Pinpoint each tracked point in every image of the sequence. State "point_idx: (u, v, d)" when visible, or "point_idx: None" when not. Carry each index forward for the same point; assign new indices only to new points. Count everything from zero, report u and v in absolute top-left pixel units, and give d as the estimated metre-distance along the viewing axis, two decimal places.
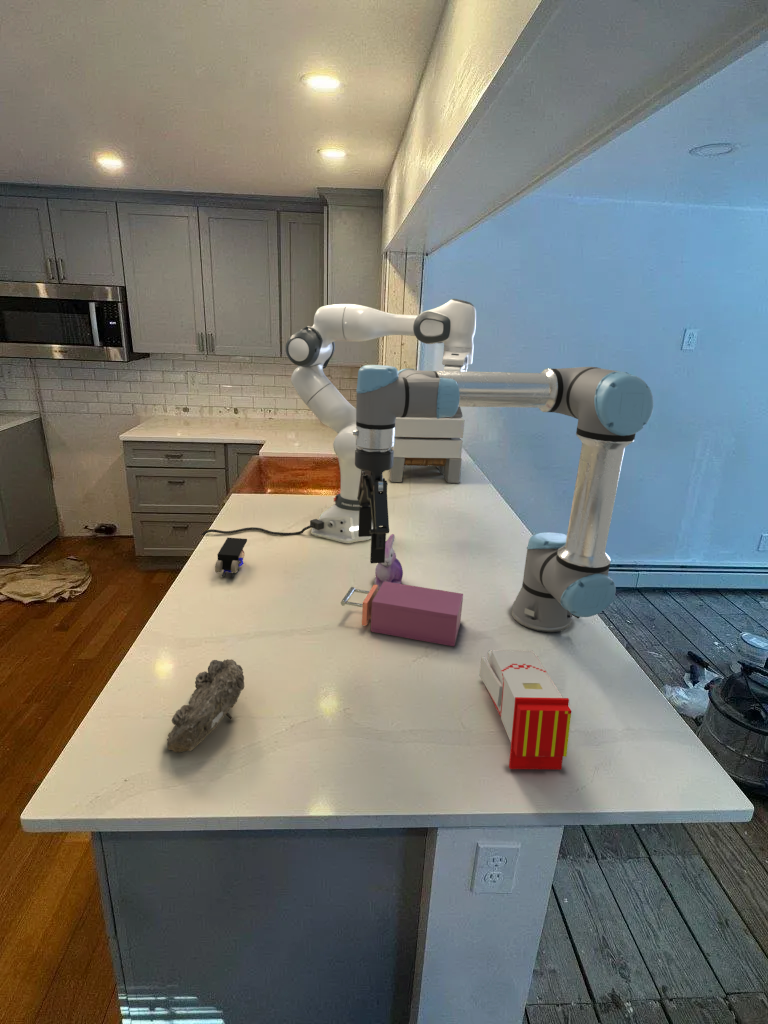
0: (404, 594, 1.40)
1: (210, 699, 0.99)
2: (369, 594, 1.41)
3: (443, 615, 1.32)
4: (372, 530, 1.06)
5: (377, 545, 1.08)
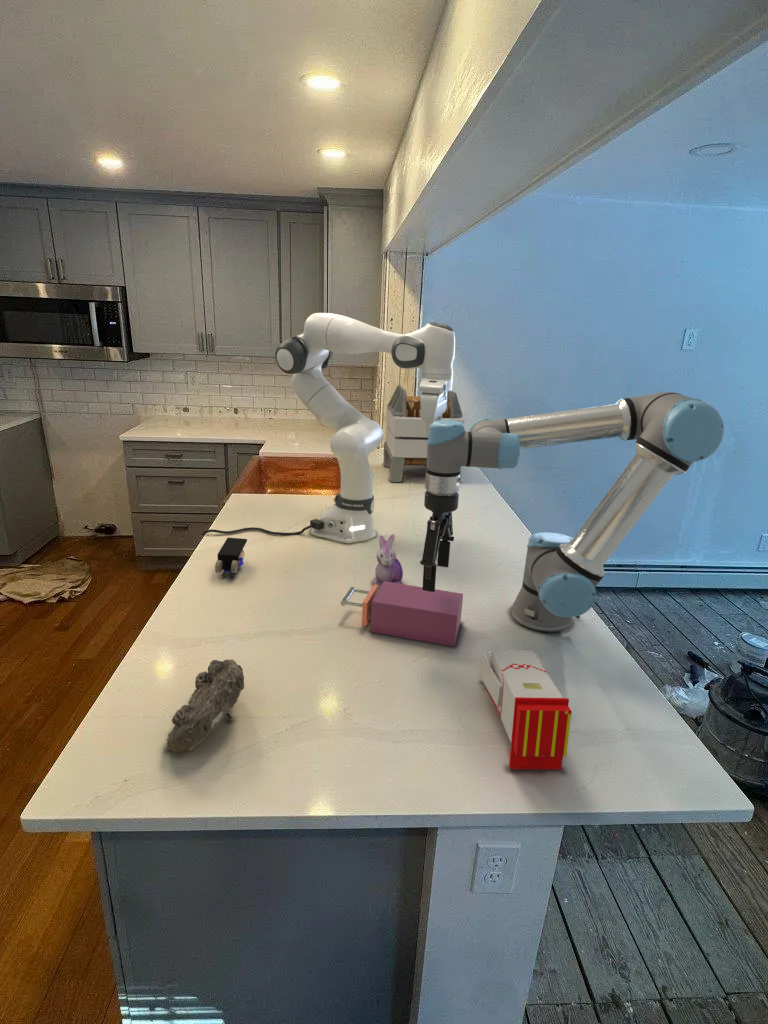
0: (404, 594, 1.40)
1: (210, 699, 0.99)
2: (369, 594, 1.41)
3: (443, 615, 1.32)
4: None
5: None
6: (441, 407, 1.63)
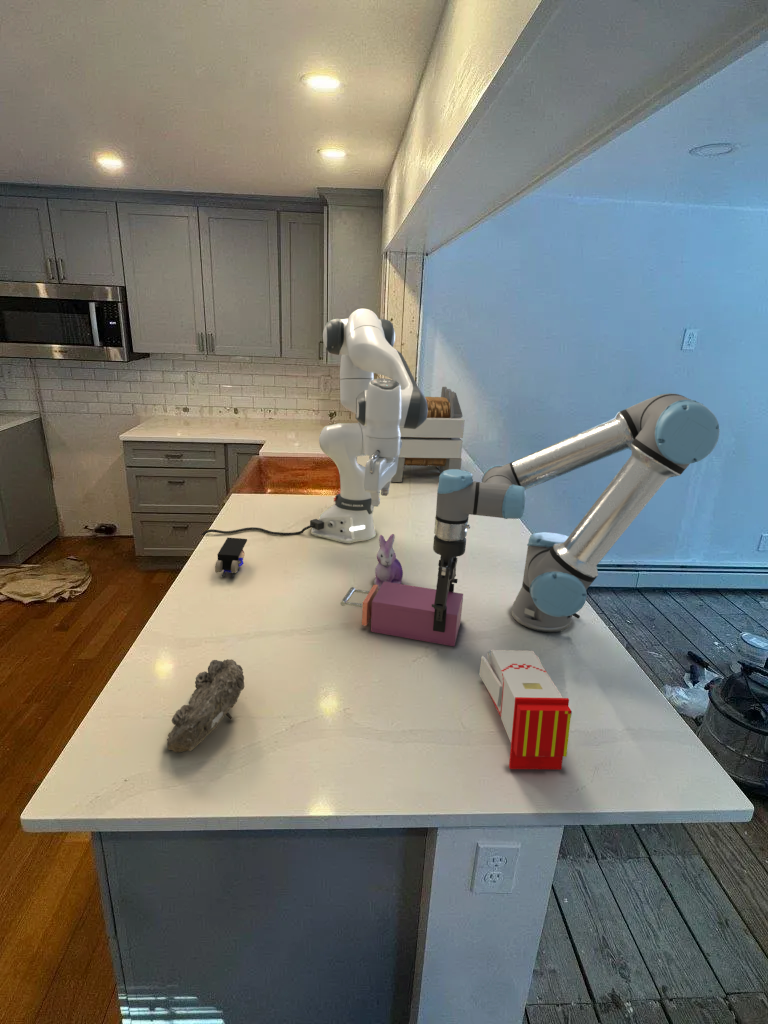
0: (404, 594, 1.40)
1: (210, 699, 0.99)
2: (369, 594, 1.41)
3: None
4: None
5: None
6: None
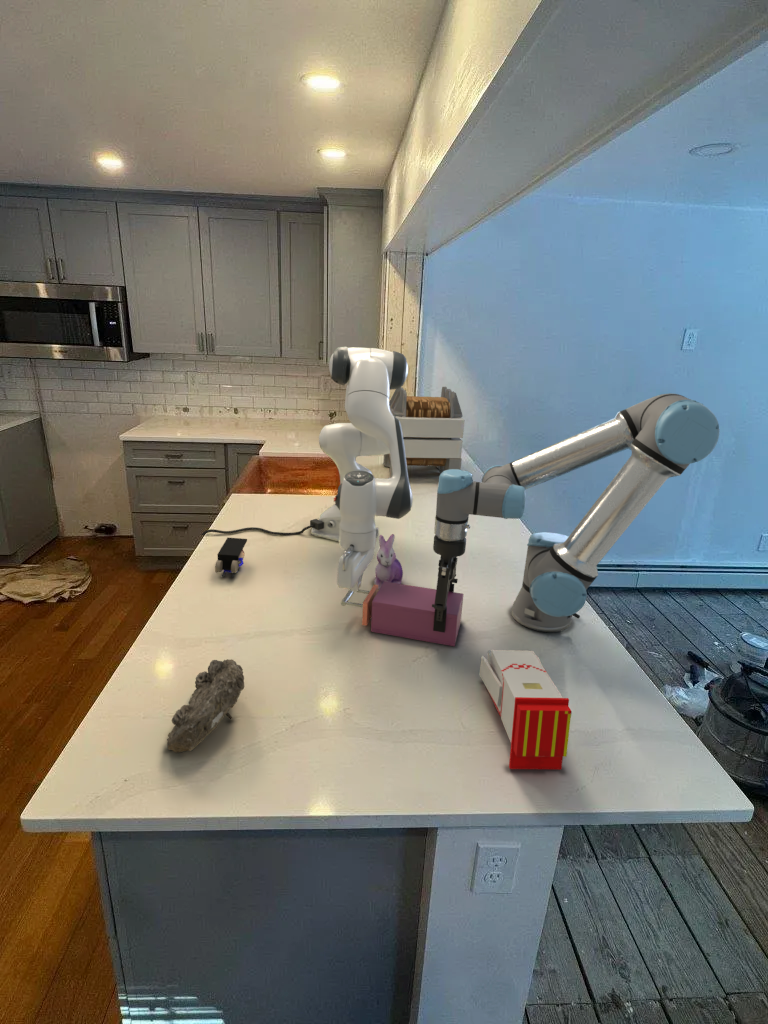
0: (404, 594, 1.40)
1: (210, 699, 0.99)
2: (369, 594, 1.41)
3: None
4: None
5: None
6: None
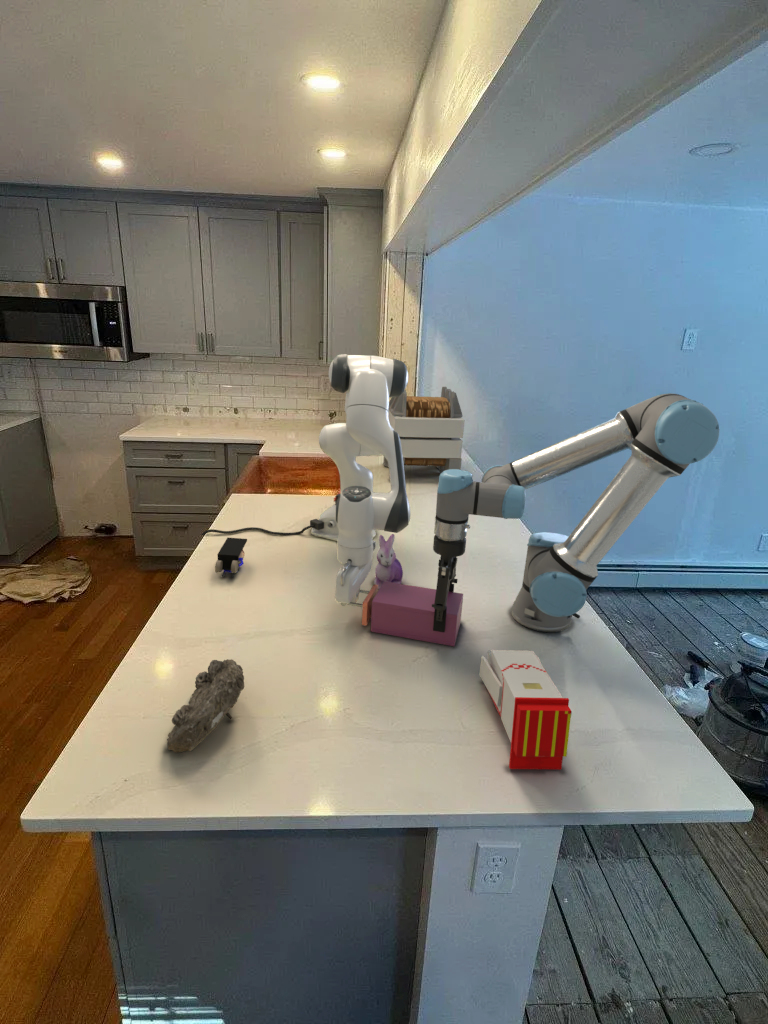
0: (404, 594, 1.40)
1: (210, 699, 0.99)
2: (369, 594, 1.41)
3: None
4: None
5: None
6: None
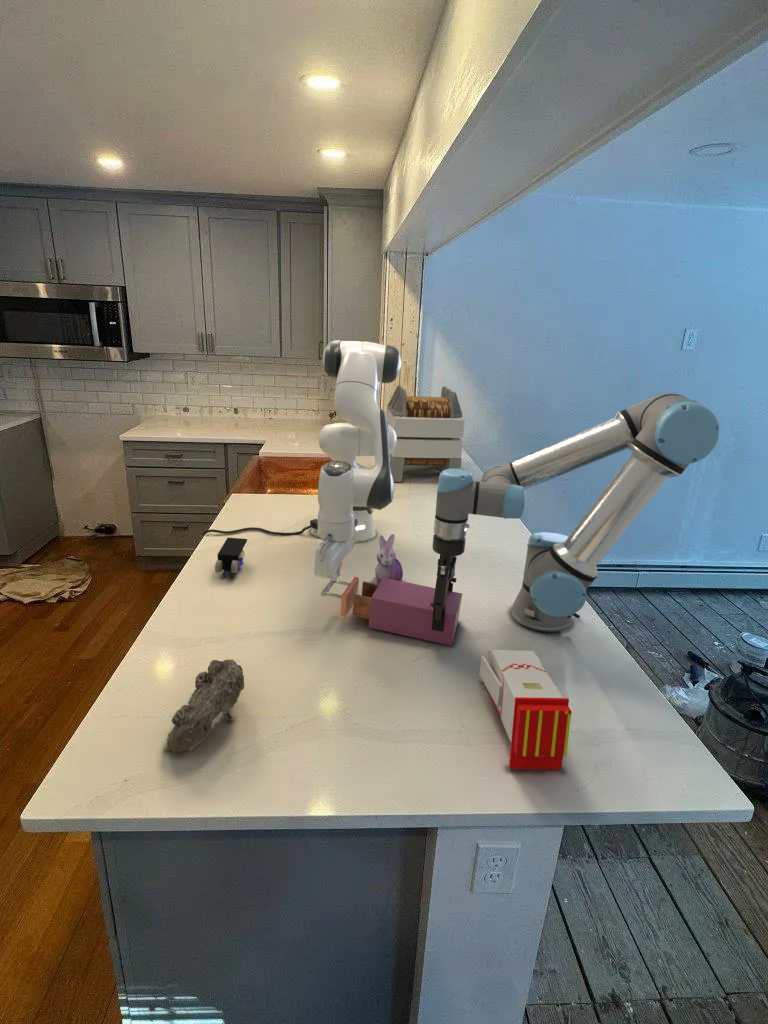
0: (403, 591, 1.40)
1: (210, 699, 0.99)
2: (349, 586, 1.42)
3: None
4: None
5: None
6: None
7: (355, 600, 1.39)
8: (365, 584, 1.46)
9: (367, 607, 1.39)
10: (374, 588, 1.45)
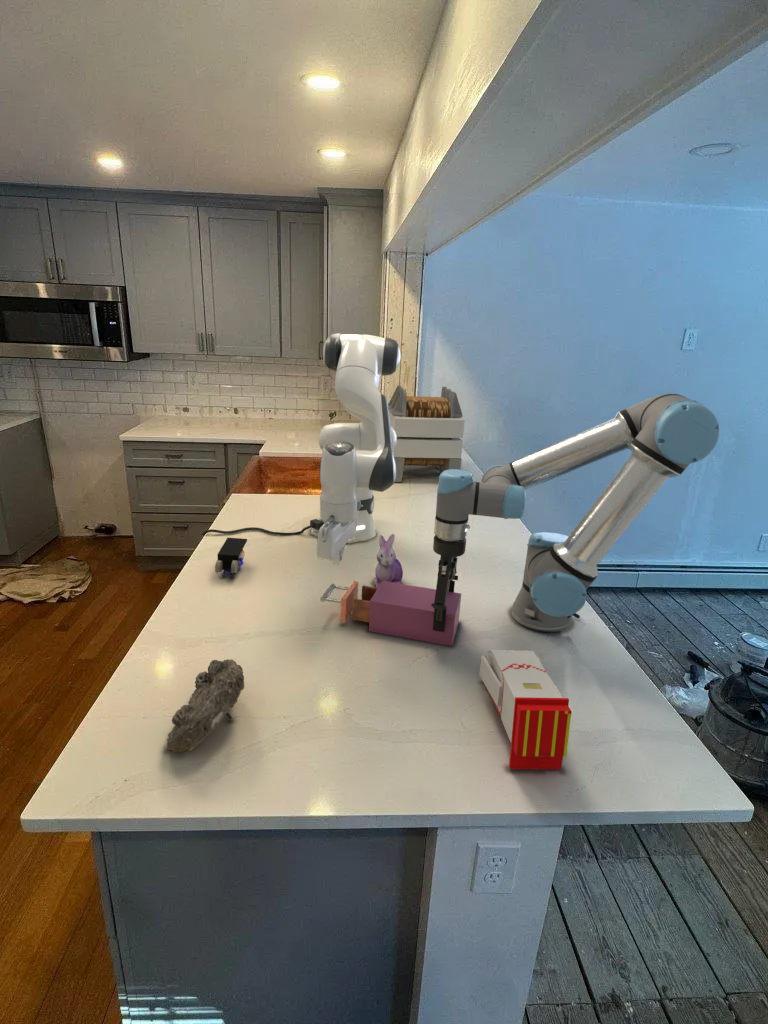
0: (402, 593, 1.40)
1: (210, 699, 0.99)
2: (348, 590, 1.43)
3: None
4: None
5: None
6: None
7: (354, 604, 1.40)
8: (364, 588, 1.46)
9: (367, 611, 1.39)
10: (373, 592, 1.46)
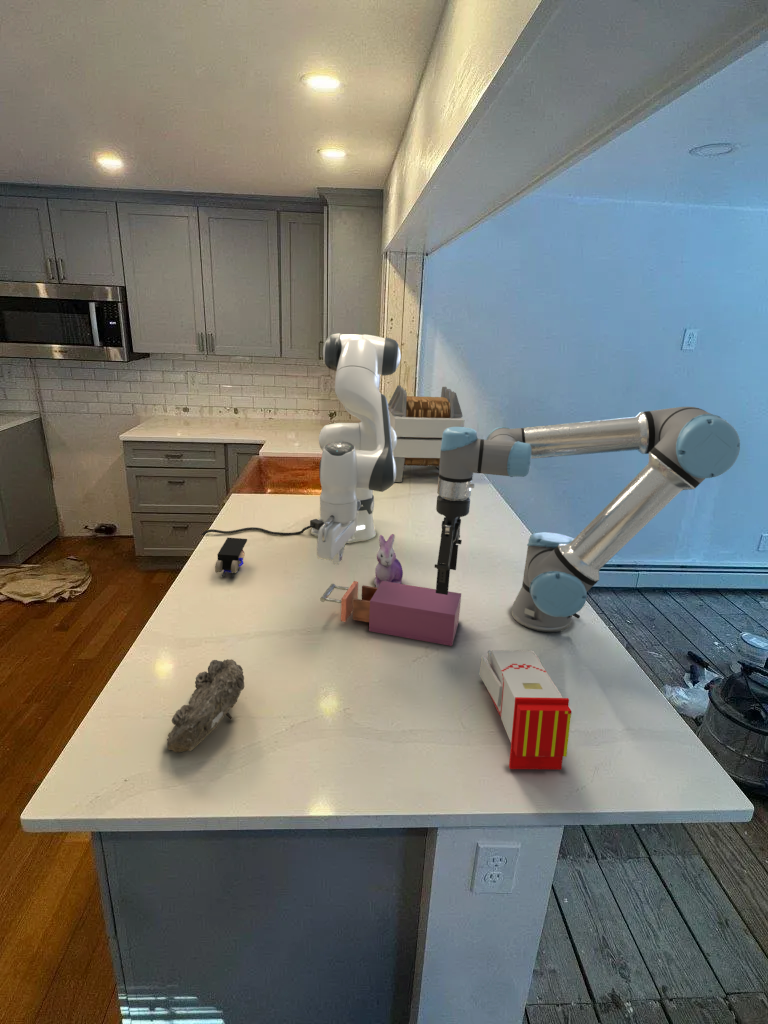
0: (402, 593, 1.40)
1: (210, 699, 0.99)
2: (348, 590, 1.43)
3: (441, 615, 1.32)
4: None
5: None
6: None
7: (354, 604, 1.40)
8: (364, 588, 1.46)
9: (367, 611, 1.39)
10: (373, 592, 1.46)
